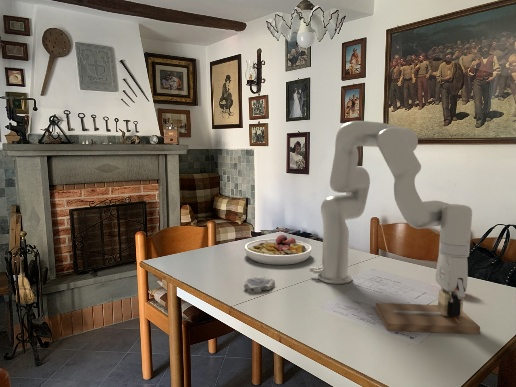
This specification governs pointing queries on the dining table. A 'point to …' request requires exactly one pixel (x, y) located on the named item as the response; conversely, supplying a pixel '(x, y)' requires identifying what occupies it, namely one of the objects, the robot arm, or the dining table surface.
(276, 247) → the bowl
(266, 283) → the fossil
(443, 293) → the block
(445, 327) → the board
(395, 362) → the dining table surface
